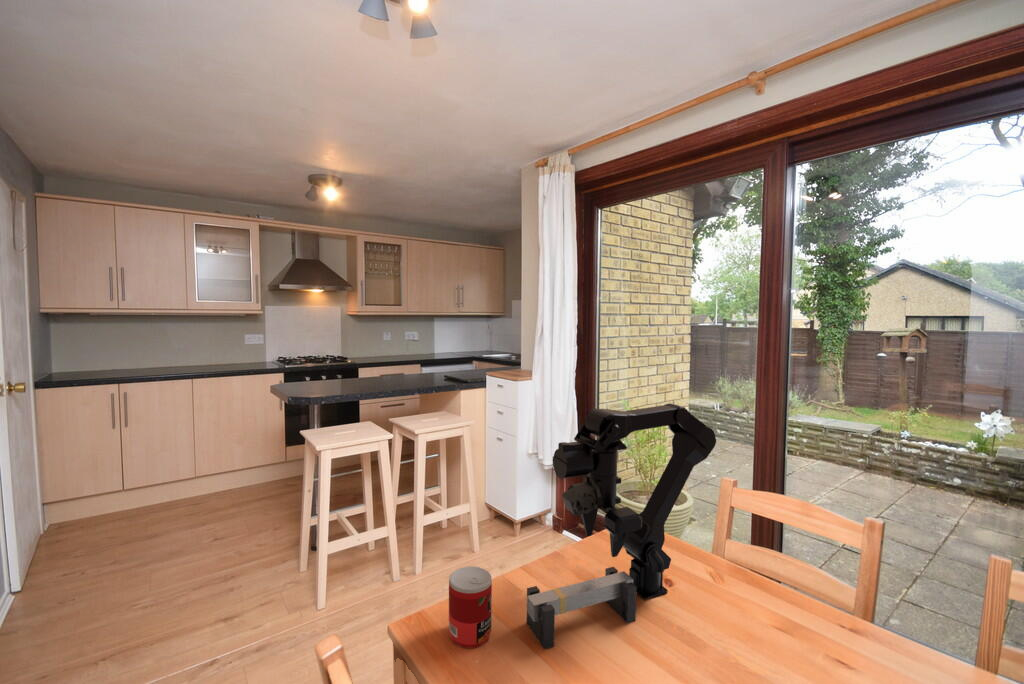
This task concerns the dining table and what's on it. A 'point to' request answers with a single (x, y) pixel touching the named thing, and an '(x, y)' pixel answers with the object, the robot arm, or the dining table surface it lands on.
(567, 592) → the grey metal bar
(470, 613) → the canned food
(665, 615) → the dining table surface
